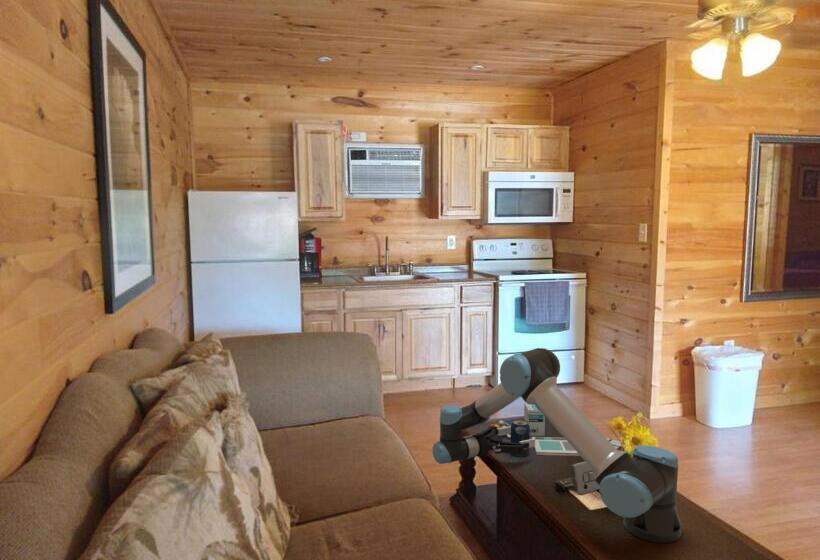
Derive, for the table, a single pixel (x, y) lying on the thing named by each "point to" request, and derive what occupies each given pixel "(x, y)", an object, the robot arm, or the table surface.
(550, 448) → the white teal rectangular board
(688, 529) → the table surface
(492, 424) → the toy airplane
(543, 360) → the robot arm
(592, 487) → the electrical switch
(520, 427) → the soda can
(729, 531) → the table surface
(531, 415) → the light bulb box
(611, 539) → the table surface
